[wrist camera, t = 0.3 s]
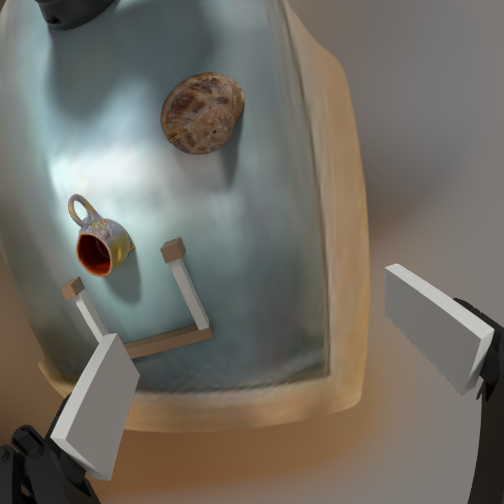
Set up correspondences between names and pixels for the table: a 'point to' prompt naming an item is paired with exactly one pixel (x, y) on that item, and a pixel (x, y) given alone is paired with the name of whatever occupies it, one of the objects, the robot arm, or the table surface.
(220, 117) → the seashell
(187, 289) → the pocket
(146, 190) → the table surface
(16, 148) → the table surface
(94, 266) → the mug
